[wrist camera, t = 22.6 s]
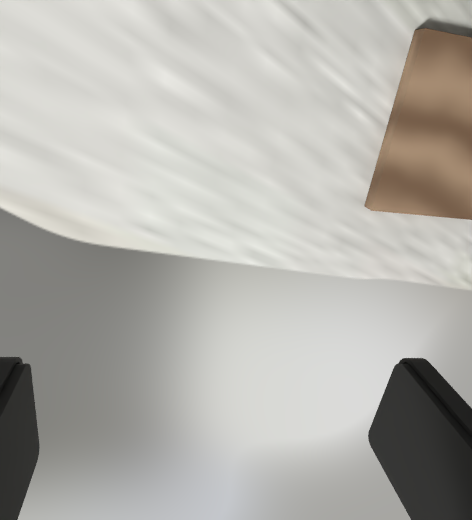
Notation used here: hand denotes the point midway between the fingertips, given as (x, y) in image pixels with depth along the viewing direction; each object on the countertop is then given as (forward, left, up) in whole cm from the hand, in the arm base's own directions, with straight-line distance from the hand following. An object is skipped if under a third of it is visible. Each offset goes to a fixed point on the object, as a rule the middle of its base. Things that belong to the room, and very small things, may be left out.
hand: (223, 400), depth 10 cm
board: (-6, +31, -28) cm, 42 cm away
